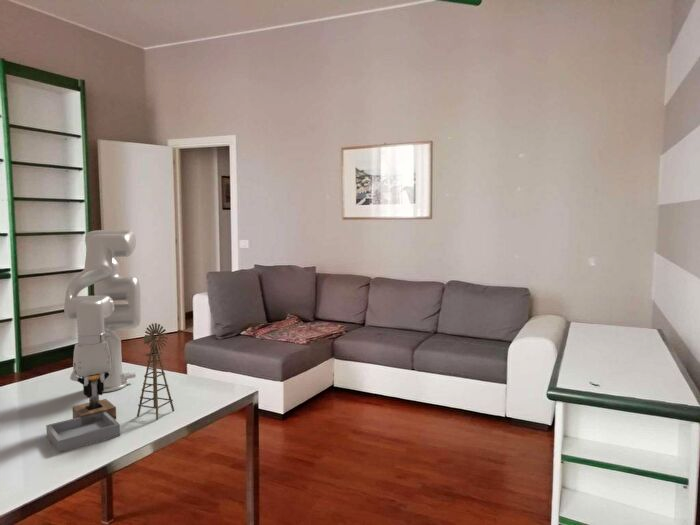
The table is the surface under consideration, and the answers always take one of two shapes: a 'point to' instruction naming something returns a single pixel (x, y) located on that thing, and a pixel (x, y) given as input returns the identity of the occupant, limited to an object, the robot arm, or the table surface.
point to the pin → (94, 391)
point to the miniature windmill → (154, 368)
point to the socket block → (94, 410)
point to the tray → (82, 431)
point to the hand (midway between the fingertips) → (93, 394)
